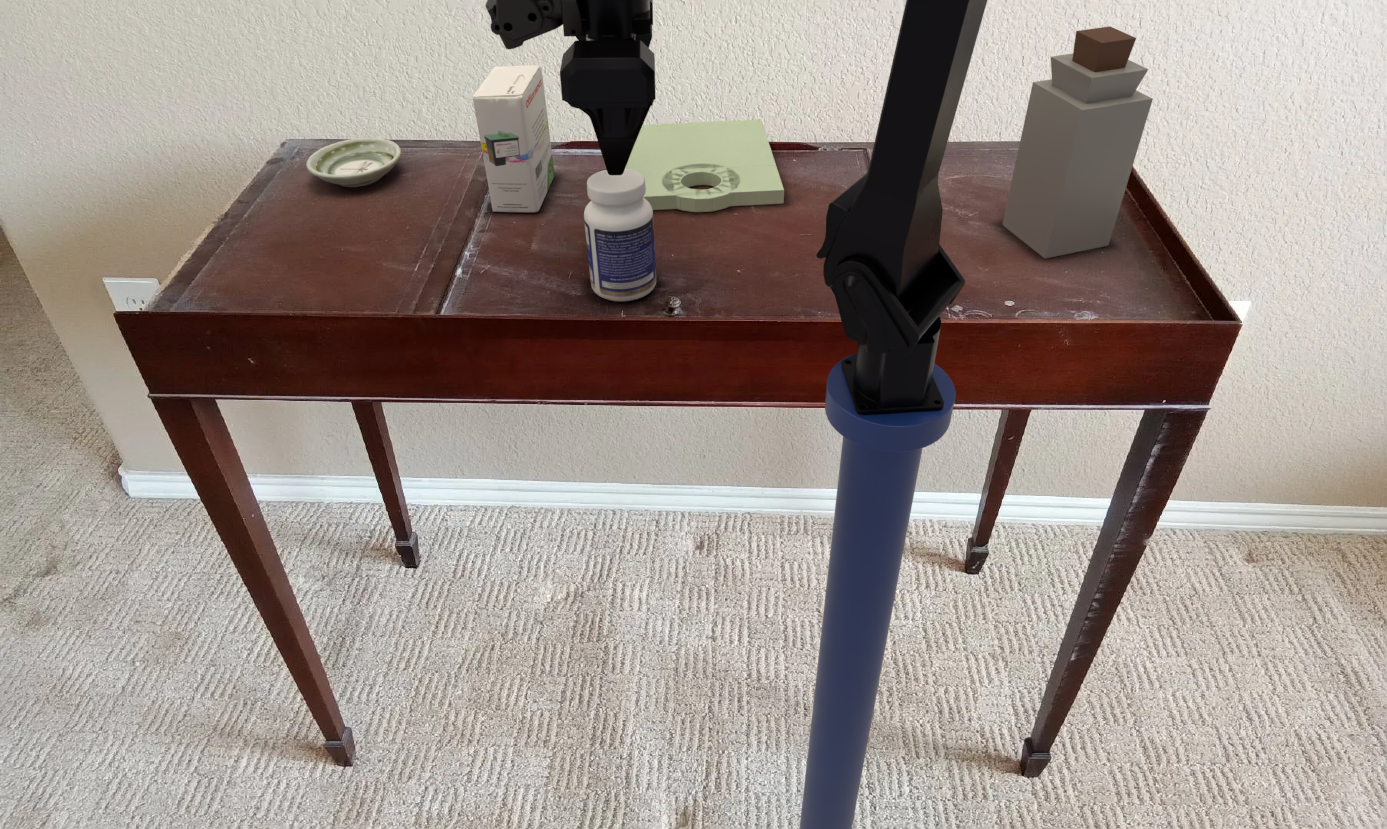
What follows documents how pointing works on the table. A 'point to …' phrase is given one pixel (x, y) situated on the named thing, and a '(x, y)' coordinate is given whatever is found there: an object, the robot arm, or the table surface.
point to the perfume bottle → (1078, 146)
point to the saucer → (354, 161)
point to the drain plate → (706, 165)
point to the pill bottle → (620, 236)
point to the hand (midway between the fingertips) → (616, 147)
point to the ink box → (515, 137)
